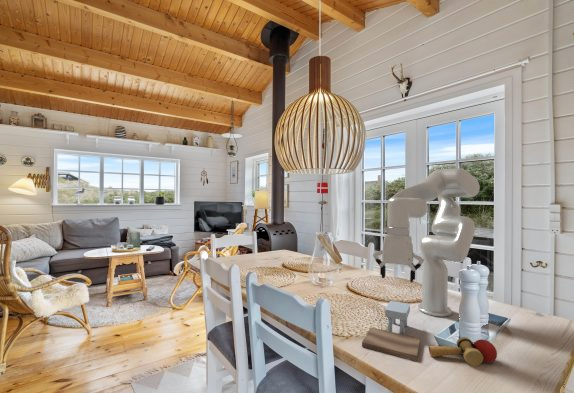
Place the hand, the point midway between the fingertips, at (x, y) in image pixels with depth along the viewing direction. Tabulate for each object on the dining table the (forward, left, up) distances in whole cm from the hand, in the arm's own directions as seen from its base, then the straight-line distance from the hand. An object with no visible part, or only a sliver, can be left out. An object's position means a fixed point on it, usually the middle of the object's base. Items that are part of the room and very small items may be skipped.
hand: (397, 279), depth 105 cm
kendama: (+11, +20, -18) cm, 29 cm away
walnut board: (+13, 0, -18) cm, 22 cm away
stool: (0, 0, -18) cm, 18 cm away
